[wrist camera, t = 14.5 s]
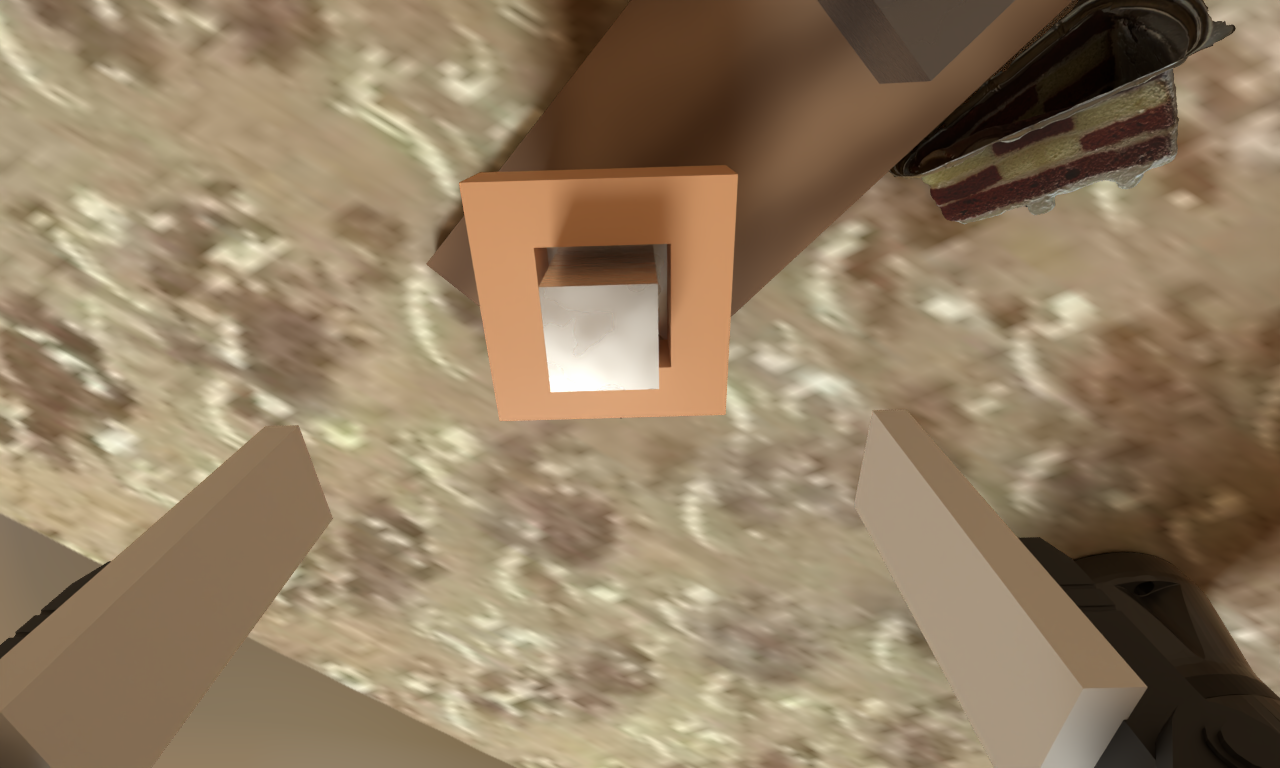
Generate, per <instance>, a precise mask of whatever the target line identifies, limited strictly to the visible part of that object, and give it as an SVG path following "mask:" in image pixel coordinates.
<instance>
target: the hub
mask: <svg viewBox="0 0 1280 768" xmlns="http://www.w3.org/2000/svg"><path fill="white" fill-rule="evenodd" d="M547 253H548V262H549V267H548V269H547V271H546V273H545V275H544V277H543V279H542V281H541V283H540V285H539V287H538V288H539V296H540V305H541V313H542V322H543V330H544V339H545V347H546V356H547V364H548V373H549V381H550V390H551V392H571V391H606V390H642V389H659V342H658V340H667V244H646V245H612V246H578V247H547Z"/></svg>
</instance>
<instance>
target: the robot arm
mask: <svg viewBox="0 0 1280 768" xmlns="http://www.w3.org/2000/svg"><path fill="white" fill-rule="evenodd" d="M854 507H855V508H856V510H857V512H858V514H859V516H860V518H861V520H862V522H863V523H864V525H865V527H866V529H867V531H868V533H869V535H870V536H871V538H872V540H873V542H874V544H875V546H876V548H877V550H878V551H879V553H880V555H881V557H882V559H883V561H884V563H885V565H886V566H887V568H888V570H889V572H890V574H891V576H892V578H893V579H894V581H895V583H896V585H897V587H898V589H899V591H900V593H901V594H902V596H903V598H904V600H905V602H906V604H907V606H908V608H909V609H910V611H911V613H912V615H913V617H914V619H915V621H916V622H917V624H918V626H919V628H920V630H921V632H922V634H923V636H924V637H925V639H926V641H927V643H928V645H929V647H930V649H931V651H932V652H933V654H934V656H935V658H936V660H937V662H938V664H939V665H940V667H941V669H942V671H943V673H944V675H945V677H946V679H947V680H948V682H949V684H950V686H951V688H952V690H953V692H954V694H955V695H956V697H957V699H958V701H959V703H960V705H961V707H962V708H963V710H964V712H965V714H966V716H967V718H968V720H969V722H970V723H971V725H972V727H973V729H974V731H975V733H976V735H977V737H978V738H979V740H980V742H981V744H982V746H983V748H984V750H985V751H986V753H987V755H988V757H989V759H990V761H991V763H992V765H993V766H994V768H1280V698H1279V697H1278V696H1277V695H1276V694H1275V693H1274V692H1273V691H1272V690H1271V689H1270V688H1268V687H1267V686H1266V685H1265V684H1264V683H1263V682H1262V681H1261V680H1260V679H1259V678H1258V677H1257V676H1256V674H1255V673H1254V672H1253V670H1252V669H1251V667H1250V666H1249V664H1248V662H1247V661H1246V659H1245V657H1244V656H1243V654H1242V653H1241V651H1240V649H1239V648H1238V646H1237V644H1236V643H1235V641H1234V640H1233V638H1232V636H1231V635H1230V633H1229V631H1228V630H1227V628H1226V627H1225V625H1224V623H1223V622H1222V620H1221V618H1220V617H1219V615H1218V614H1217V612H1216V610H1215V609H1214V607H1213V605H1212V604H1211V602H1210V601H1209V599H1208V598H1207V596H1206V595H1205V594H1204V593H1203V591H1202V590H1201V589H1200V588H1199V587H1198V586H1197V585H1195V584H1194V583H1193V582H1192V581H1191V580H1190V579H1189V578H1187V577H1186V576H1185V575H1184V574H1183V573H1182V572H1181V571H1179V570H1178V569H1177V568H1176V567H1175V566H1174V565H1172V564H1171V563H1169V562H1167V561H1165V560H1163V559H1161V558H1158V557H1155V556H1151V555H1147V554H1141V553H1109V554H1101V555H1096V556H1091V557H1087V558H1083V559H1079V560H1076V561H1073V560H1072V559H1071V558H1070V557H1068V556H1067V555H1065V554H1064V553H1062V552H1061V551H1059V550H1058V549H1056V548H1055V547H1053V546H1052V545H1050V544H1049V543H1047V542H1046V541H1044V540H1043V539H1041V538H1040V537H1035V538H1018V537H1017V536H1016V535H1015V534H1014V533H1013V532H1012V531H1011V529H1010V528H1009V527H1008V526H1007V525H1006V524H1005V523H1004V521H1003V520H1002V519H1001V518H1000V517H999V516H998V515H997V513H996V512H995V511H994V510H993V509H992V508H991V506H990V505H989V504H988V503H987V502H986V501H985V500H984V498H983V497H982V496H981V495H980V494H979V493H978V492H977V490H976V489H975V488H974V487H973V486H972V485H971V483H970V482H969V481H968V480H967V479H966V478H965V477H964V475H963V474H962V473H961V472H960V471H959V470H958V469H957V467H956V466H955V465H954V464H953V463H952V462H951V460H950V459H949V458H948V457H947V456H946V455H945V454H944V452H943V451H942V450H941V449H940V448H939V447H938V446H937V444H936V443H935V442H934V441H933V440H932V439H931V437H930V436H929V435H928V434H927V433H926V432H925V431H924V429H923V428H922V427H921V426H920V425H919V424H918V423H917V421H916V420H915V419H914V418H913V417H912V416H911V414H910V413H909V412H908V411H907V410H873V411H872V416H871V421H870V426H869V431H868V436H867V441H866V447H865V452H864V457H863V462H862V467H861V473H860V478H859V483H858V488H857V493H856V498H855V504H854ZM332 519H333V518H332V515H331V512H330V510H329V507H328V504H327V502H326V499H325V496H324V493H323V491H322V488H321V485H320V482H319V480H318V477H317V474H316V472H315V469H314V466H313V463H312V461H311V458H310V455H309V453H308V450H307V447H306V444H305V442H304V439H303V436H302V433H301V431H300V428H299V425H297V426H265V427H264V428H263V429H262V430H261V431H259V432H258V433H257V434H256V435H255V436H254V437H253V438H252V439H250V440H249V441H248V442H247V443H246V444H245V445H244V446H242V447H241V448H240V449H239V450H238V451H237V452H236V453H234V454H233V455H232V456H231V457H230V458H229V459H228V460H226V461H225V462H224V463H223V464H222V465H221V466H220V467H218V468H217V469H216V470H215V471H214V472H213V473H212V474H210V475H209V476H208V477H207V478H206V479H205V480H204V481H203V482H201V483H200V484H199V485H198V486H197V487H196V488H195V489H193V490H192V491H191V492H190V493H189V494H188V495H187V496H185V497H184V498H183V499H182V500H181V501H180V502H179V503H177V504H176V505H175V506H174V507H173V508H172V509H171V510H169V511H168V512H167V513H166V514H165V515H164V516H163V517H161V518H160V519H159V520H158V521H157V522H156V523H155V524H154V525H152V526H151V527H150V528H149V529H148V530H147V531H146V532H144V533H143V534H142V535H141V536H140V537H139V538H138V539H136V540H135V541H134V542H133V543H132V544H131V545H130V546H128V547H127V548H126V549H125V550H124V551H123V552H122V553H120V554H119V555H118V556H117V557H116V558H115V559H114V560H112V561H109V562H107V563H106V564H104V565H102V566H101V567H99V568H97V569H96V570H94V571H92V572H91V573H89V574H88V575H86V576H84V577H82V578H81V579H79V580H78V581H76V582H74V583H72V584H71V585H70V586H69V587H68V588H66V589H65V590H64V591H63V592H62V593H61V594H59V595H58V596H57V597H56V598H55V599H54V600H52V601H51V602H50V603H49V604H48V605H47V606H45V607H44V608H43V609H42V610H41V614H40V615H35V616H34V617H33V618H31V619H30V620H29V621H28V622H27V623H25V625H23V626H22V627H21V628H20V629H19V630H17V631H16V635H15V636H14V638H8V639H7V640H6V641H4V642H3V643H2V644H1V645H0V768H152V766H153V765H154V764H155V762H156V761H157V760H158V758H159V757H160V755H161V754H162V753H163V751H164V750H165V748H166V747H167V746H168V745H169V743H170V742H171V740H172V739H173V738H174V736H175V735H176V733H177V732H178V731H179V729H180V728H181V727H182V725H183V724H184V723H185V721H186V719H187V718H188V717H189V716H190V714H191V713H192V711H193V710H194V709H195V707H196V706H197V705H198V703H199V702H200V700H201V699H202V698H203V696H204V695H205V694H206V692H207V691H208V689H209V688H210V687H211V685H212V684H213V683H214V681H215V680H216V678H217V677H218V676H219V674H220V673H221V672H222V670H223V669H224V667H225V666H226V665H227V663H228V662H229V660H230V659H231V658H232V656H233V655H234V654H235V652H236V651H237V650H238V648H239V647H240V645H241V644H242V643H243V641H244V640H245V639H246V637H247V636H248V634H249V633H250V632H251V630H252V629H253V628H254V626H255V625H256V623H257V622H258V621H259V619H260V618H261V617H262V615H263V614H264V612H265V611H266V610H267V608H268V607H269V606H270V604H271V603H272V601H273V600H274V599H275V597H276V596H277V595H278V593H279V592H280V590H281V589H282V588H283V586H284V585H285V584H286V582H287V581H288V579H289V578H290V577H291V575H292V574H293V573H294V571H295V570H296V568H297V567H298V566H299V564H300V563H301V562H302V560H303V559H304V557H305V556H306V555H307V553H308V552H309V551H310V549H311V548H312V546H313V545H314V544H315V542H316V541H317V540H318V538H319V537H320V535H321V534H322V533H323V531H324V530H325V529H326V527H327V526H328V524H329V523H330V522H331V520H332Z"/></svg>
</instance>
